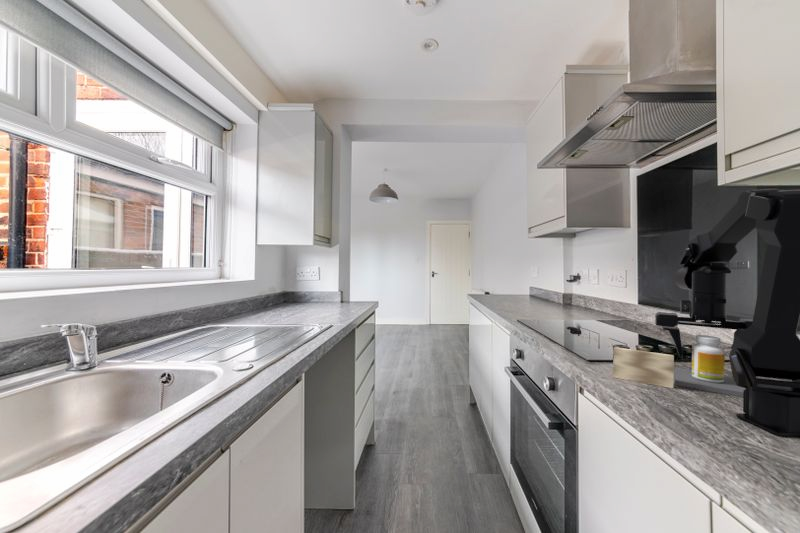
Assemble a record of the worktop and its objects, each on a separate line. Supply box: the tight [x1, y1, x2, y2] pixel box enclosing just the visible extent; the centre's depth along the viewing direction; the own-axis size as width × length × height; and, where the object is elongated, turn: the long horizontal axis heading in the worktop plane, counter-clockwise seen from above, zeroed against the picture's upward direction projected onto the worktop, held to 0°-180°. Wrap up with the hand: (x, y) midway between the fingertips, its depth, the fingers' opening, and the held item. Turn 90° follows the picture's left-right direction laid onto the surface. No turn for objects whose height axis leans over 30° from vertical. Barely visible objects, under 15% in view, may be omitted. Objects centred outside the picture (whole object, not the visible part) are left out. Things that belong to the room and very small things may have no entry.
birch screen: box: [612, 346, 675, 389], centre depth 73 cm, size 11×2×7 cm, turn 53°
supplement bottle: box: [691, 334, 726, 383], centre depth 72 cm, size 5×5×10 cm
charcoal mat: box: [673, 367, 746, 398], centre depth 72 cm, size 12×12×1 cm
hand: (707, 360), depth 72 cm, fingers open, 9 cm apart
